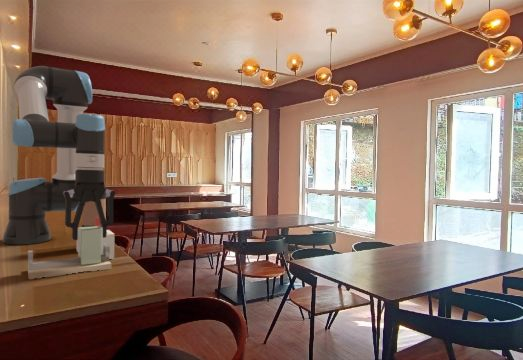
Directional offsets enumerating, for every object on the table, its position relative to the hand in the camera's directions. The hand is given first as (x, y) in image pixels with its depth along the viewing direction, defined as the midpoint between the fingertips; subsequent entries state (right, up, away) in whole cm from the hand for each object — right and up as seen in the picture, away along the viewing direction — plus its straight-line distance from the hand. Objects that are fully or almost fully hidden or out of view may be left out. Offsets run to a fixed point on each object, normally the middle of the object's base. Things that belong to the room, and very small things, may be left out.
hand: (89, 249), depth 106 cm
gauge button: (-2, +3, +11) cm, 11 cm away
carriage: (0, -3, 0) cm, 3 cm away
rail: (-4, -5, -2) cm, 7 cm away
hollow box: (-2, -5, +11) cm, 12 cm away
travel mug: (-9, -4, +23) cm, 25 cm away
